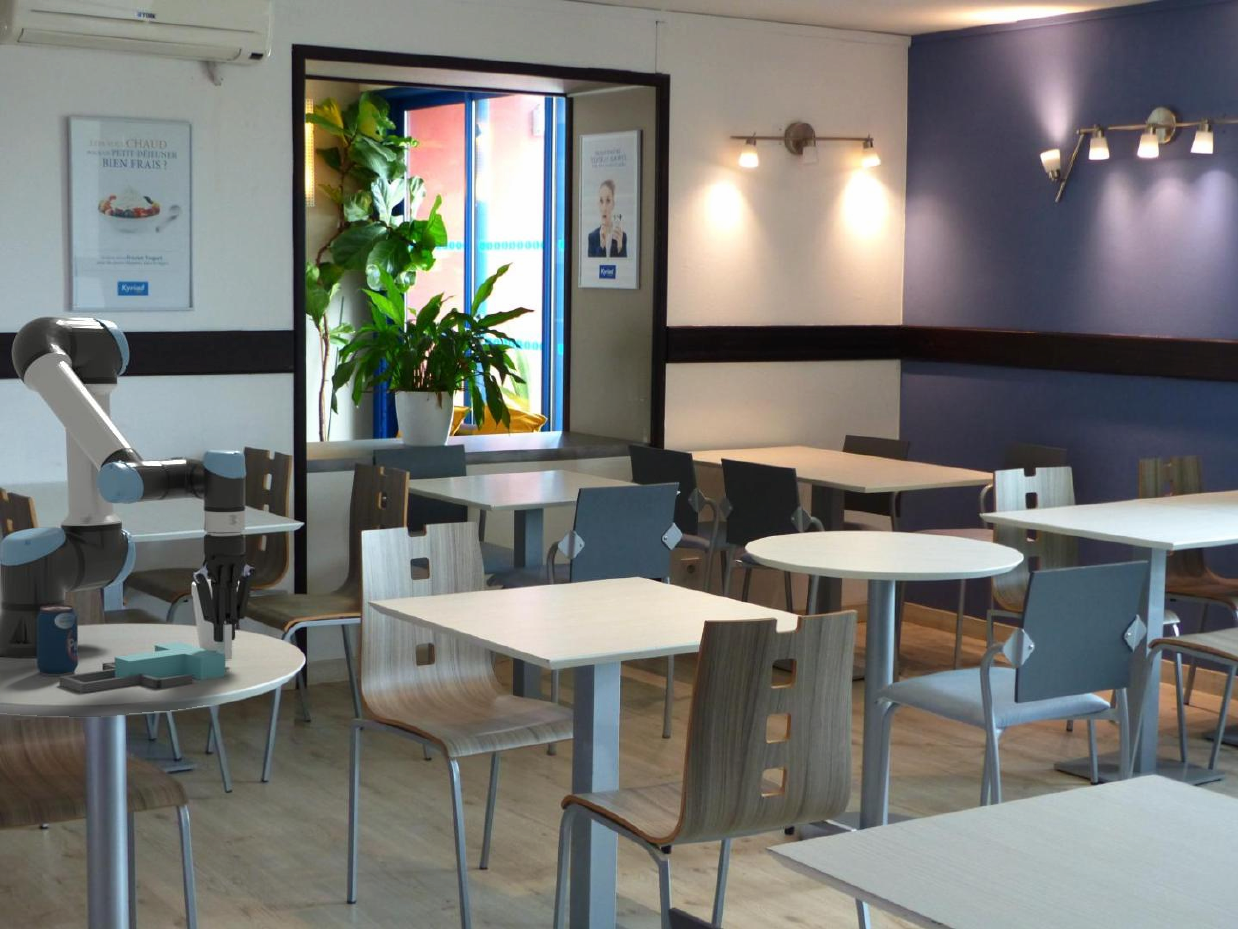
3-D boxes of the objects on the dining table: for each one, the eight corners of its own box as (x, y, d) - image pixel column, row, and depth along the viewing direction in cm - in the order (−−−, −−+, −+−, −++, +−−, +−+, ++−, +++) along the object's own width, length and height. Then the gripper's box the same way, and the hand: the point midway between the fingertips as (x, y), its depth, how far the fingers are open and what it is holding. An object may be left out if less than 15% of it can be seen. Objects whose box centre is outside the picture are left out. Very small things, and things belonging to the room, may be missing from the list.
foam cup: (247, 644, 310) (247, 580, 309) (231, 653, 301) (231, 587, 300) (201, 642, 311) (201, 578, 310) (184, 651, 302) (184, 585, 301)
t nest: (138, 666, 287) (138, 658, 286) (193, 683, 273) (193, 674, 273) (44, 680, 273) (44, 671, 273) (97, 698, 260) (97, 689, 260)
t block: (178, 663, 291) (178, 642, 291) (225, 676, 280) (225, 654, 280) (99, 674, 279) (99, 652, 279) (144, 689, 268) (144, 666, 268)
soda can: (79, 675, 278) (79, 609, 277) (38, 677, 275) (37, 611, 274) (76, 667, 284) (76, 603, 283) (36, 670, 282) (35, 605, 281)
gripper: (204, 537, 280) (204, 666, 281) (265, 532, 289) (265, 656, 291) (182, 533, 285) (182, 659, 287) (243, 528, 294) (243, 651, 296)
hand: (224, 658), depth 289 cm, fingers closed
